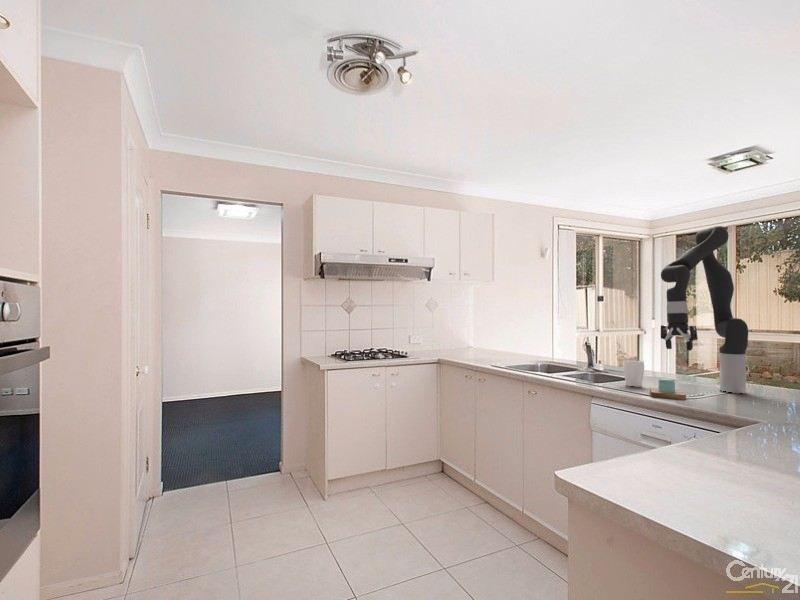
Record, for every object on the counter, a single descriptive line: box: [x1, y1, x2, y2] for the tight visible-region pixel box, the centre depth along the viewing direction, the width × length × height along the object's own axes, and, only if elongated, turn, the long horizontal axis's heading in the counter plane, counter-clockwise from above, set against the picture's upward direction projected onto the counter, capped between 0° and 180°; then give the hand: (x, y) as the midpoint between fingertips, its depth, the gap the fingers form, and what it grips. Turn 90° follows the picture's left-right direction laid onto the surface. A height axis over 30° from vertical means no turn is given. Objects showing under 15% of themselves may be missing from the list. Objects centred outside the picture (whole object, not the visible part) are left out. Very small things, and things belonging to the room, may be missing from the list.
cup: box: [622, 359, 645, 388], centre depth 202 cm, size 9×9×12 cm
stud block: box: [649, 387, 687, 401], centre depth 177 cm, size 12×12×6 cm
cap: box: [658, 378, 676, 393], centre depth 177 cm, size 6×6×5 cm
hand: (679, 349), depth 179 cm, fingers open, 8 cm apart
